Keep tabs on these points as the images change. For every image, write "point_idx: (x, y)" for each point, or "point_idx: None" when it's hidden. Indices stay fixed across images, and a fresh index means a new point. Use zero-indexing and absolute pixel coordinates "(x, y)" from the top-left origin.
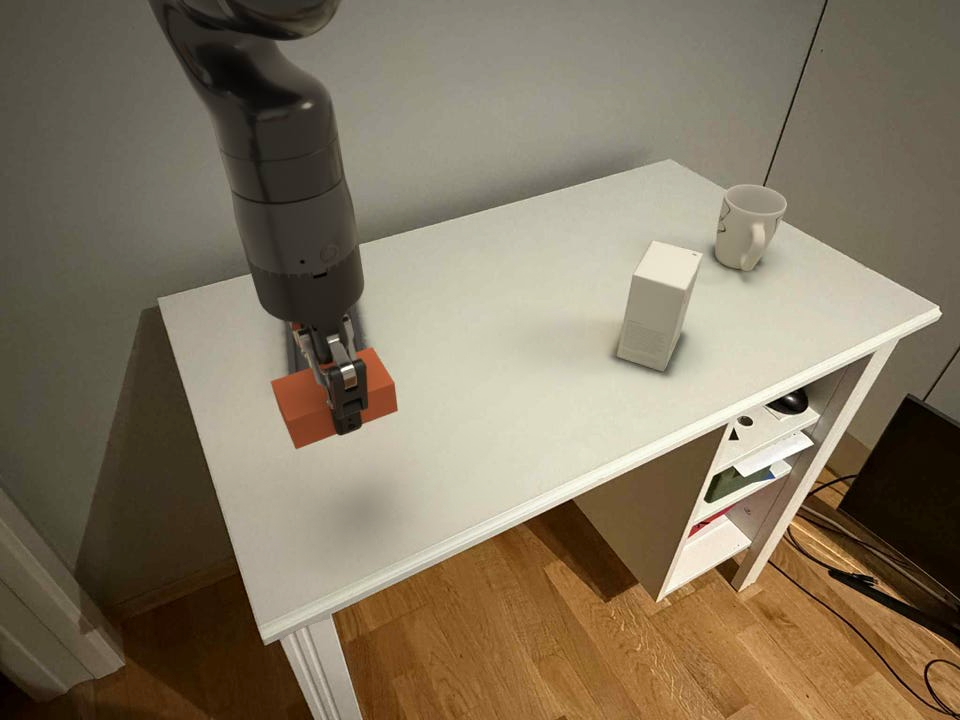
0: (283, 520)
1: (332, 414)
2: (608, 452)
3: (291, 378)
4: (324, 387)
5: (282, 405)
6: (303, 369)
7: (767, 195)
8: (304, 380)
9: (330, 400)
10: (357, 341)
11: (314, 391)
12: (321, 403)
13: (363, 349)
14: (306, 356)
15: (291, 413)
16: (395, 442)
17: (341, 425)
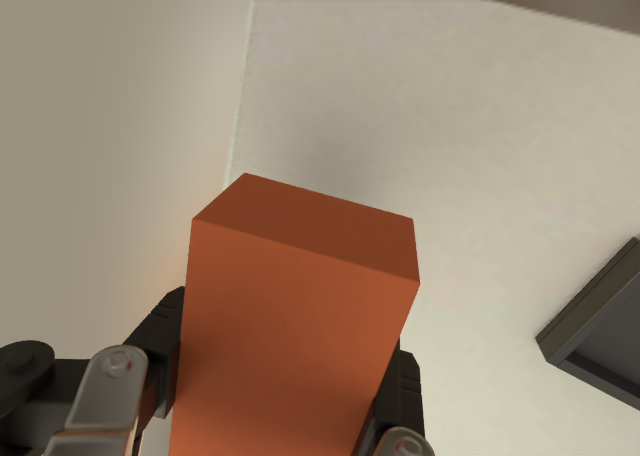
0: (409, 73)
1: (166, 323)
2: None
3: (374, 336)
4: (97, 417)
5: (273, 247)
6: None
7: None
8: (332, 356)
9: (82, 380)
10: (622, 393)
11: (264, 348)
12: (204, 332)
13: (595, 387)
14: (380, 441)
15: (219, 248)
16: None
17: (161, 308)
